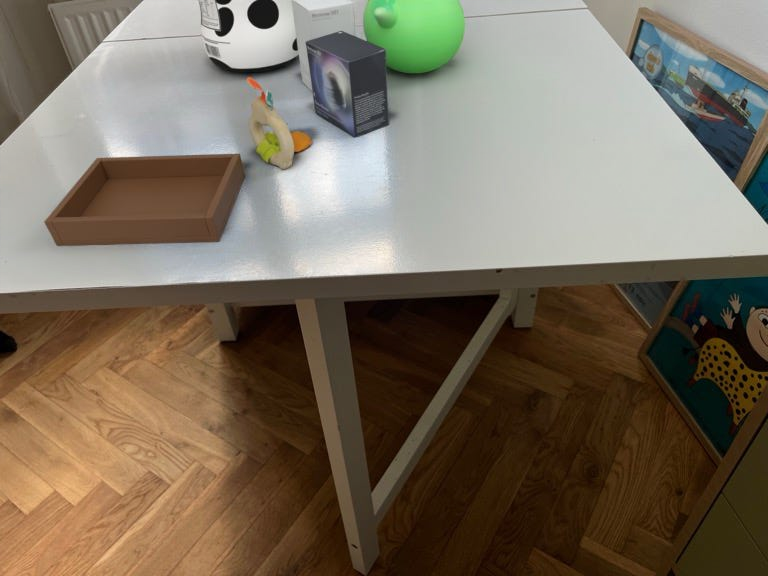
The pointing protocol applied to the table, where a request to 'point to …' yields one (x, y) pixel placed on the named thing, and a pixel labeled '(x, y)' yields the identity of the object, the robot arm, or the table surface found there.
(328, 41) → the small box
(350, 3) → the white packaging box
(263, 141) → the rattle
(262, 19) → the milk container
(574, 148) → the table surface
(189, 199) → the tray
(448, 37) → the toy bird
